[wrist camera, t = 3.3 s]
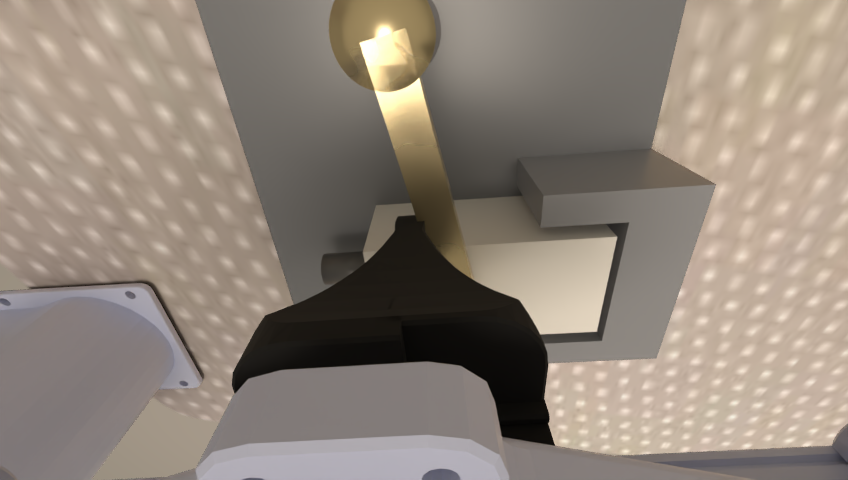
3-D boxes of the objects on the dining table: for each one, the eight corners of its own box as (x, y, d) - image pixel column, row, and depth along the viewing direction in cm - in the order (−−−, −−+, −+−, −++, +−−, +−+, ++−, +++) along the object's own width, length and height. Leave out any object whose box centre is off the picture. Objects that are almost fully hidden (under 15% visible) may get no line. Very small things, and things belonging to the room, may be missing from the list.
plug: (342, 287, 19) (323, 344, 16) (324, 208, 17) (297, 255, 13) (565, 274, 19) (596, 331, 15) (577, 192, 16) (617, 236, 13)
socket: (316, 358, 23) (292, 431, 19) (198, -16, 13) (96, -35, 9) (598, 345, 22) (637, 417, 18) (690, -63, 12) (819, -106, 8)
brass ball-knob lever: (448, 350, 15) (450, 378, 14) (326, -5, 9) (311, -10, 8) (506, 339, 15) (513, 367, 14) (420, -38, 9) (419, -47, 8)
